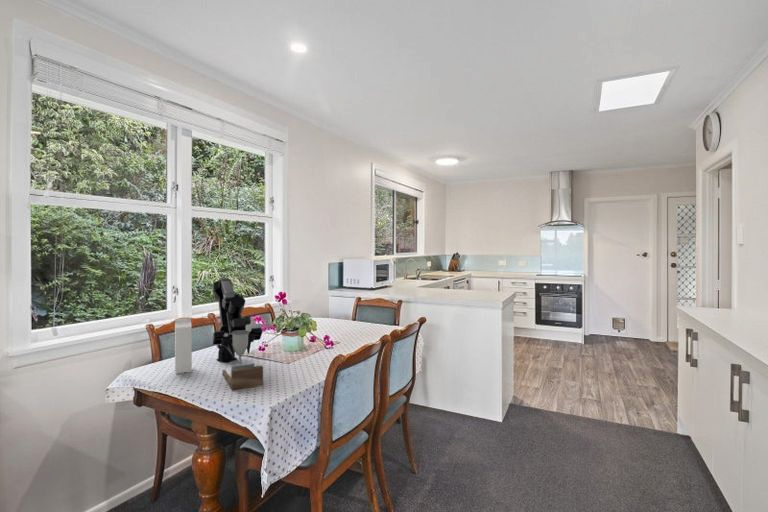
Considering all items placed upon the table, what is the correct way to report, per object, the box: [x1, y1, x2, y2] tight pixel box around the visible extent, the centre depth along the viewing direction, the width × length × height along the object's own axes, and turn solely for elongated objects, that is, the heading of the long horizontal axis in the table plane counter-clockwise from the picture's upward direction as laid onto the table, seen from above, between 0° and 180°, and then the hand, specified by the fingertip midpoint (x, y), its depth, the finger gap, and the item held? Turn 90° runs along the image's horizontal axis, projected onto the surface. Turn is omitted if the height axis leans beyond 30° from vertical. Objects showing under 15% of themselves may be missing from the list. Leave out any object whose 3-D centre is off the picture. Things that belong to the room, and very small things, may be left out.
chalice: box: [231, 329, 250, 366], centre depth 158 cm, size 7×7×18 cm
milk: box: [174, 317, 193, 374], centre depth 166 cm, size 6×6×22 cm
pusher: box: [230, 363, 255, 371], centre depth 154 cm, size 1×8×6 cm, turn 122°
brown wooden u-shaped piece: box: [221, 365, 264, 391], centre depth 156 cm, size 20×11×7 cm, turn 32°
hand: (240, 353), depth 157 cm, fingers closed on chalice, 6 cm apart
